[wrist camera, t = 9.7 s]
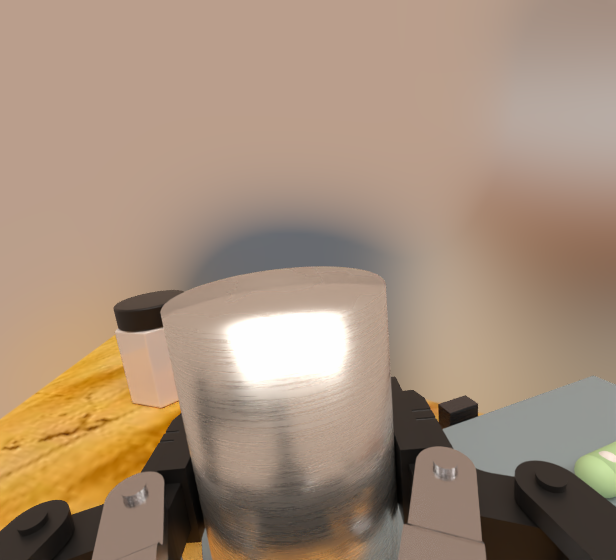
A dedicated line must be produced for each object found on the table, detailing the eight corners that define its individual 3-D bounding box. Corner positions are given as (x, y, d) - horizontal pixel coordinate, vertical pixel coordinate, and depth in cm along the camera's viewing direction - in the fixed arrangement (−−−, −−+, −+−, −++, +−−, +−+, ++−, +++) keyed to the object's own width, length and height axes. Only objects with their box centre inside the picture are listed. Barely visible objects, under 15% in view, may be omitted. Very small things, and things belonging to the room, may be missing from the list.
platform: (587, 443, 24) (595, 351, 23) (929, 644, 13) (994, 490, 11) (219, 602, 17) (194, 483, 15) (282, 1366, 6) (211, 1220, 4)
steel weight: (203, 636, 11) (126, 304, 9) (317, 522, 14) (286, 262, 12) (322, 839, 7) (247, 357, 5) (438, 622, 11) (429, 274, 8)
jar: (197, 402, 41) (178, 304, 38) (124, 415, 40) (99, 315, 37) (208, 367, 49) (192, 285, 47) (148, 377, 48) (128, 294, 46)
